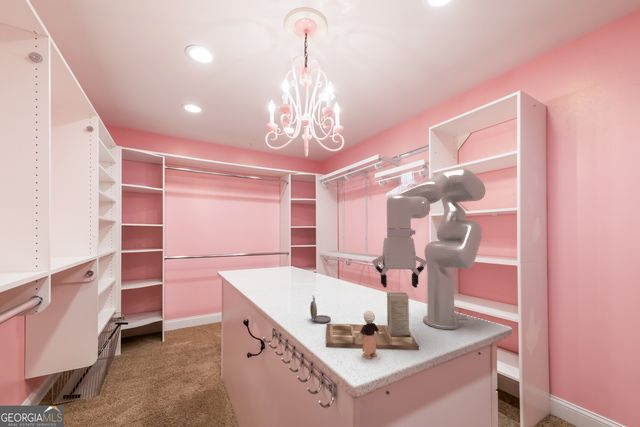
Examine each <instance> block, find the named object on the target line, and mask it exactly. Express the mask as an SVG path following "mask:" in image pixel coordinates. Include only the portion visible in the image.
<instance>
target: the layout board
mask: <svg viewBox="0 0 640 427" xmlns="http://www.w3.org/2000/svg"><path fill="white" fill-rule="evenodd" d="M364 325H365V324H353V323H351V324H349V323H326V331H325V333H326V336H325V338H326V341H325V347H326V348H348V349H363V342H364V335H363V337H362V340H359V336H360V331H361V329H362V327H363V326H364ZM375 325H376V326H377V327H378V329H379V333H380V336H377V333H376V332H375V333H374V337H375V343H376V350H398V351H399V350H402V351H403V350H405V351H420V345H419V344H418V343H417V341H416V339H415V337H414V335H413V334H412V333H411V332H410V331H409V335H397V334H389V332H388V324H386V325H383V324H375Z"/></svg>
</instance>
